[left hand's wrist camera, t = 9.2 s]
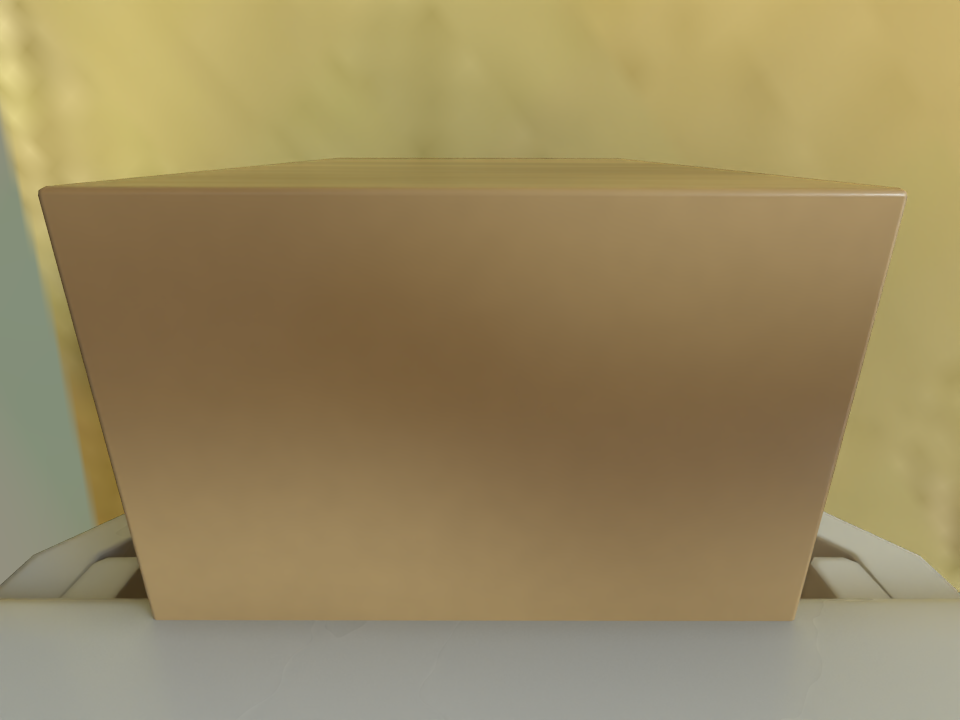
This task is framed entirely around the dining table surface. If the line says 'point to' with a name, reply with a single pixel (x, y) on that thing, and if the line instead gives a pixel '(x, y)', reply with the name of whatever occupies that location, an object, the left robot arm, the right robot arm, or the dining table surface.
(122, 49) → the dining table surface
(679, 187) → the block
